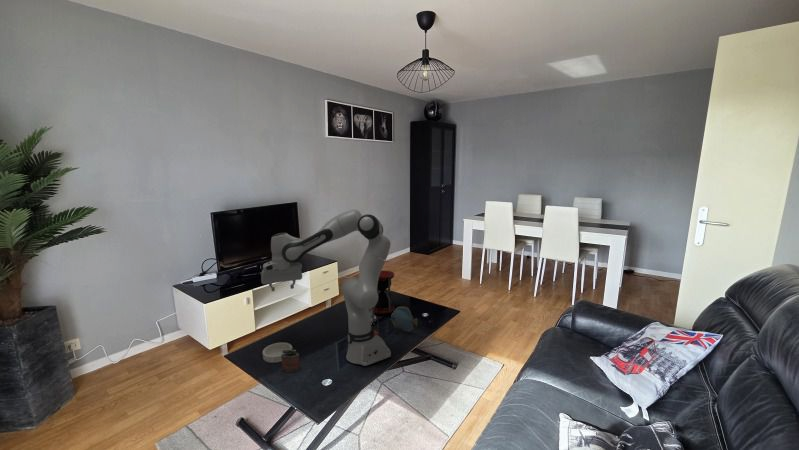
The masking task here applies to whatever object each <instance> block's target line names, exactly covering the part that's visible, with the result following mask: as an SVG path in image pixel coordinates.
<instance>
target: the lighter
mask: <svg viewBox="0 0 799 450" xmlns="http://www.w3.org/2000/svg"><path fill="white" fill-rule="evenodd" d="M282 352H283V353H285V354H282V355H281V358H282V361H281V365H282V367H281V372H290V373H291V372H298V371H300V369H301V368H300V354H299V352H297V349H293V348H292V349H290V350H283V351H282Z"/></svg>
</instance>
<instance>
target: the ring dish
mask: <svg viewBox="0 0 799 450" xmlns="http://www.w3.org/2000/svg"><path fill="white" fill-rule="evenodd" d="M290 349H292V350H293V346H292V344H291V343H288V342H276V343H275V342H274V343H272V344H270V345H267V346H265V348H264V349H263V350H262V360H263V361H264V362H266V363H271V364H273V363H274V364H275V363H280V362H281V363H282V358H281V355H282V354H285V353H283V352H282V351H283V350H290Z"/></svg>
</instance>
